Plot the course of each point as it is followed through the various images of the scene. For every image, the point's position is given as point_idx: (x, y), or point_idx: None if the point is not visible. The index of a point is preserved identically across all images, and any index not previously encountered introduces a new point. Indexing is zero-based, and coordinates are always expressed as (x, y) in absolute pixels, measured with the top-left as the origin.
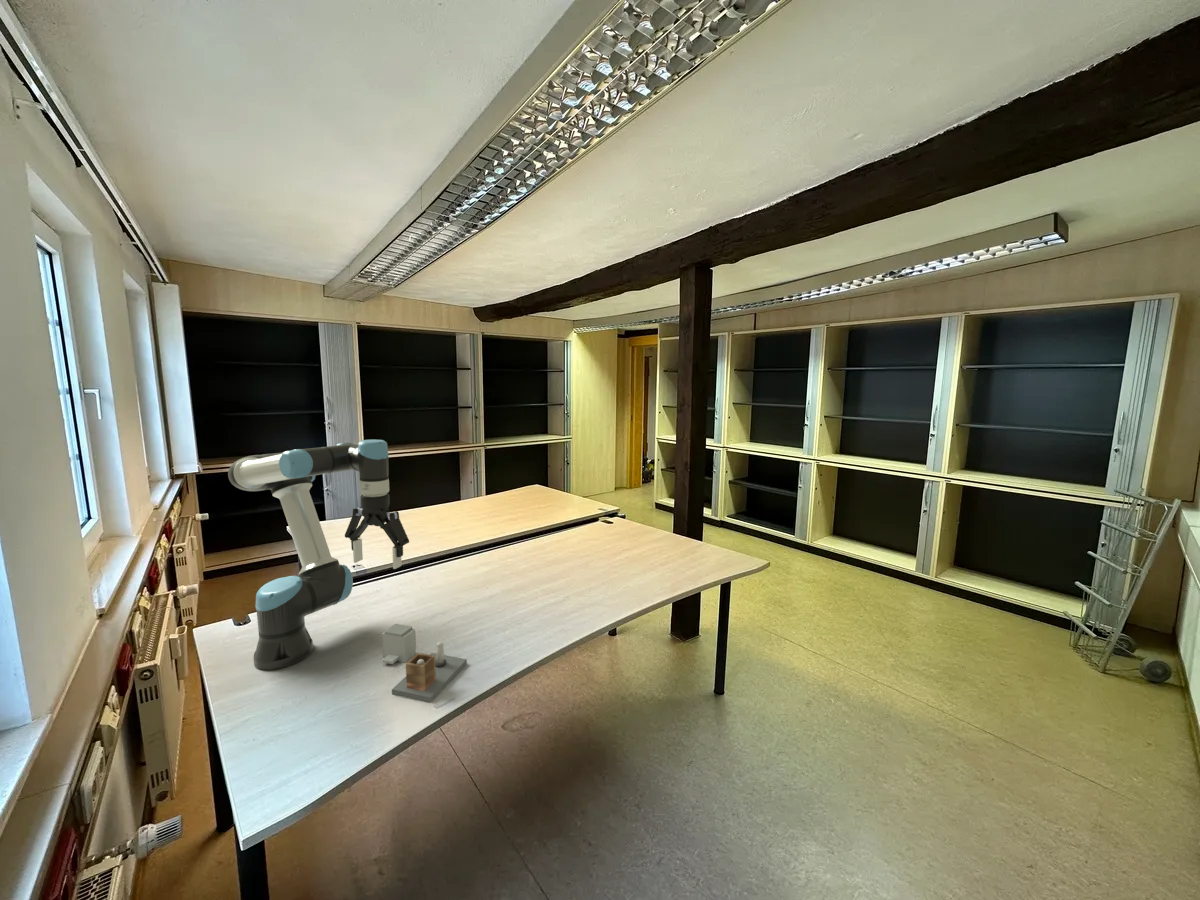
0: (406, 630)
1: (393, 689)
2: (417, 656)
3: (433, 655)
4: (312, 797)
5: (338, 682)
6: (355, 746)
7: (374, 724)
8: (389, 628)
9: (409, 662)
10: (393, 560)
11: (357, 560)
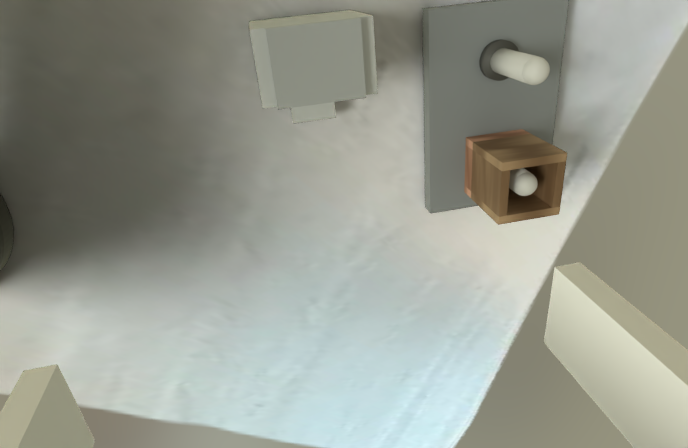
0: (361, 60)
1: (435, 212)
2: (509, 176)
3: (445, 22)
4: (470, 411)
5: (241, 232)
6: (459, 334)
7: (454, 286)
8: (275, 78)
9: (505, 214)
10: (608, 406)
11: (81, 438)
